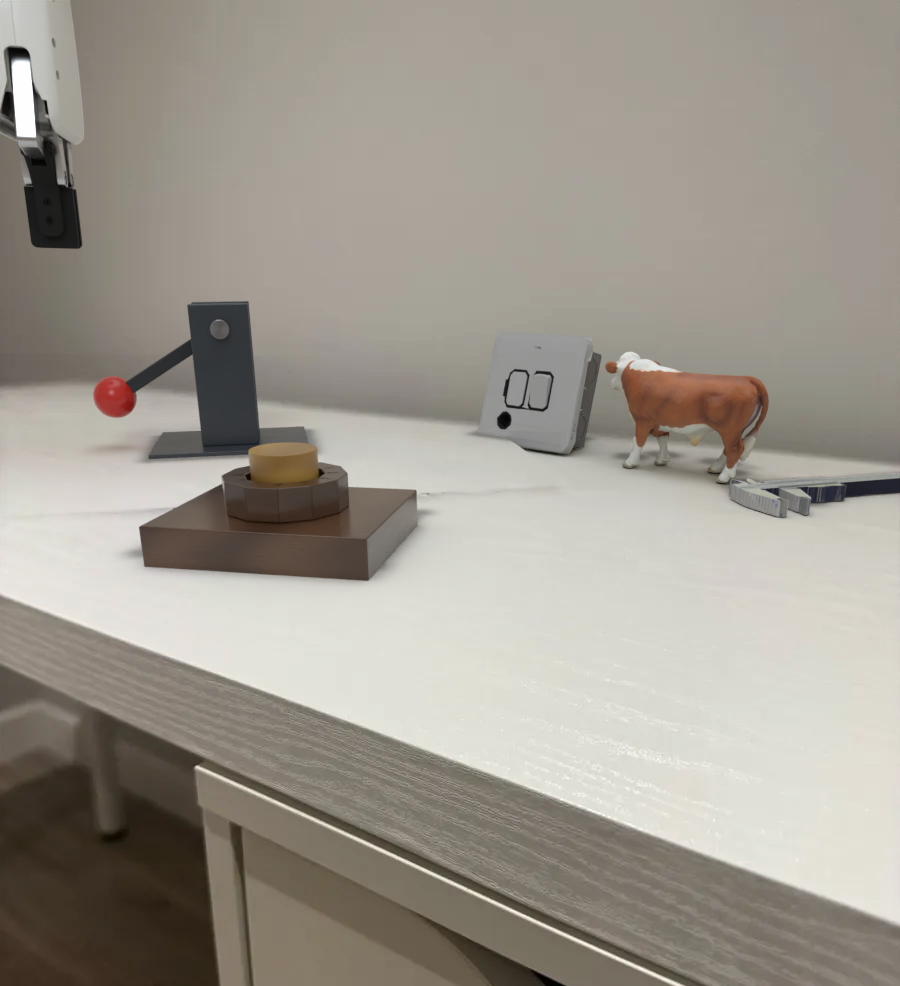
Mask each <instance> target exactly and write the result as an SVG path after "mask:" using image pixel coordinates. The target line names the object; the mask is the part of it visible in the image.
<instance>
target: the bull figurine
mask: <svg viewBox="0 0 900 986" xmlns="http://www.w3.org/2000/svg"><path fill="white" fill-rule="evenodd" d="M604 368H605V371H606V372H607V373H608V374H615V376H614V378H612V379H611V381H610V388H611V389H614V390H615V391H619V392H620V393H621V395H622V399H624V401H625V402H626V405H627V414H628V417H629V419H630V421H631V422H632V424H633V426H634V428H635V432H634V433H635V434H634V437H633V439H632V449H631V452H630V454H629V455H628V458H626V460H625V461H624V462H623V463H622V464H621V465H622V467H623V468H625V469H632V468H635V467H636V466H640V465H641V462H642V461H641V452H642V450H643V448H644V447H645V445H647V440H648V437H651V438H656V441H657V444H658V446H659V447H658V448H659V451H658V455H657V456H656V458H655V461H654V462H653V464H654V465H657V466H664V465H667V464H668V463H670V462H672V457H671V456H670V452H669V449H668V442H669V440H670V432H673V433H676V434H680V435H683V436H686V437H687V438H689V440H690V445H691V446H693V447H696V446H698V445H699V443H700V442H701V441H702V439H703V438H704V437H705V436H706V435H708V434H710V433H712V432H713V431H715V432H717V434H718V435H719V436H720V438H721V441H722V444H723V447H724V448H723V450H722V452H721V454H720V456H719V457H718V458H717V459H716V460H715V461H714V462H713V463H712V464H711V465H710V466H708V468H707V472H708V473H713V474H719V473H720V474H719V476H717V478H716V479H715V482H716V483H719V484H726V483H729V482H730V480H731V479H734V478H735V477H736V475H737V467H738V464H739V462H740V461H741V462H744V461H745V460H747V458H749V457H750V455H751V452H752V451H753V448H754V445H755V443H756V441H757V437H758V432H759V430H760V427H762V424H763V423H764V422H765V419H766V417H767V414H768V410H769V403H770V401H769V394H768V393H769V392H768V390H767V388H766V386H765V384H764V382H762V381H761V380H760V379H759V378H758V377H756V376H753V375H730V374H713V373H711V374H710V373H695V372H687V371H681V370H678V369H675V368H672V367H667V366H662V365H661V363H660V362H659V361H656V360H651V359H648V358H641V356H640V355H639V354H638V353H636V352H634V351H625V352H624V353H623V354H622V355H621V356H619V359H618V360H617V361H607V362H606V363H605V365H604ZM758 416H759V417H758ZM757 418H758V419H757ZM756 419H757V420H756ZM755 420H756V422H755V423H754V421H755ZM753 423H754V426H753V427H752V429H751V430H749V432H747V433H746V434H745V435H744V437H743V434H744V432H745V431H746V430H747V429H748V428H749V427H750V426H752V424H753Z"/></svg>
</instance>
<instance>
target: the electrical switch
mask: <svg viewBox="0 0 900 986" xmlns="http://www.w3.org/2000/svg"><path fill="white" fill-rule="evenodd" d="M602 357H603V356H602V354H601V353H599V352H598V353H597V352H595V351H594V342H593V338H591V337H588V336H585V335H569V334H552V333H551V334H550V333H549V334H548V333H533V332H531V333H529V332H528V333H527V332H510V331H509V332H507V331H500V333H498V334H497V336H496V337H494V343H493V348H492V355H491V359H490V365H489V370H488V376H487V381H486V387H485V391H484V393H485V394H484V398H483V403H482V409H481V414H480V419H479V425H478V431H477V433H478V434H482V435H488V436H496V437H503V438H507V439H508V440H509V441H511V442H512V443H514V444H515V445H516V446H518V447H520V449H526V450H532V451H538V452H545V453H553V454H560V455H570V453H571V452H572V450H573V448H575V449H576V448H577V449H583V448H584V447H585V443H586V438H587V433H588V428H589V424H590V423H589V422H590V418H591V413H592V408H593V402H594V397H595V392H596V388H597V382H598V379H599V372H600V368H601V363H602V359H603V358H602Z"/></svg>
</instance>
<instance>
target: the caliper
mask: <svg viewBox="0 0 900 986" xmlns="http://www.w3.org/2000/svg"><path fill="white" fill-rule="evenodd" d="M897 493H900V472H889V473H877V474H862V475H852V476H851V475H849V476H836V477H825V476H813V477H800V478H787V479H771V480H763V481H762V482H761V481H760V482H759V481H756V480H754V479H752V478H749V477H746V481H745V480H744V481H743V480H738V479H734V478H730V479H729V490H728V495H730V496H729V499H730V500H732V501H733V502H736V503H737V504H738V505H741V506H743V507H745V508H748V509H752V510H753V511H754V510H755V511H758V512H761V513H764V514H766V515H770V516H774V517H778V518H787V517H788V510H791V511H793V512H796V513H799V514H801V515H803V516H808V515H809V514H810V510H811V508H810V507H811V504H812V503H828V502H843V501H845V498H849V497H862V496H872V495H873V496H874V495H885V494H897Z"/></svg>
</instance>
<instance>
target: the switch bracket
mask: <svg viewBox="0 0 900 986" xmlns="http://www.w3.org/2000/svg"><path fill="white" fill-rule="evenodd" d="M186 306H187V307H186V308H187V315H188V317H187V318H188V326H189V334H190V339H191V345H192V361H193V372H194V379H195V380H194V381H195V389H196V397H197V407H198V417H199V426H200V430H184V431H163V432H162V433H160V435H159V437H158V439H157V440H156V443H155V444H154V445H153V447H152V449H151V450H150V452H149V454H148V460H160V459H162V460H163V459H164V460H165V459H180V458H181V459H182V458H183V459H184V458H185V459H186V458H204V457H207V458H208V457H226V456H245V455H246V456H249V453H248V451H249V449H251V448H253V447H255V446H259V445H264V444H271V443H286V442H295V443H307V444H309V440H308V437H307V433H306V429H305V426H304V425H303V426H301V425H300V426H278V427H277V426H276V427H260V418H259V416H260V415H259V407H258V406H259V405H258V394H257V382H256V371H255V361H254V360H255V359H254V348H253V338H252V337H253V335H252V324H251V313H250V312H251V311H250V302H249V300H232V301H231V300H230V301H229V300H228V301H227V300H226V301H223V300H222V301H219V300H218V301H191V302H190V303H188V304H187V305H186Z"/></svg>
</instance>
